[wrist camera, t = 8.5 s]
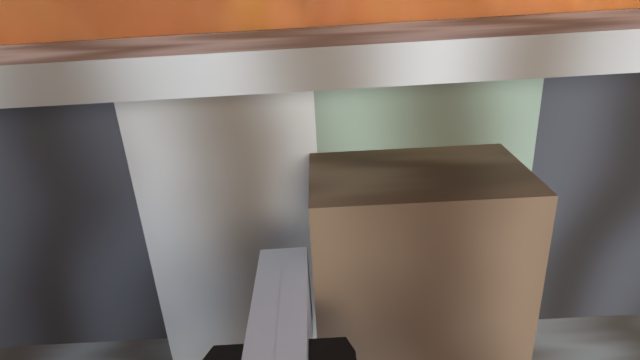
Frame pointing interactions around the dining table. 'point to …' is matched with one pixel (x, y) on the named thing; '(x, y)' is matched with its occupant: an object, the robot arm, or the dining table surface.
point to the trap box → (296, 169)
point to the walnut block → (429, 251)
